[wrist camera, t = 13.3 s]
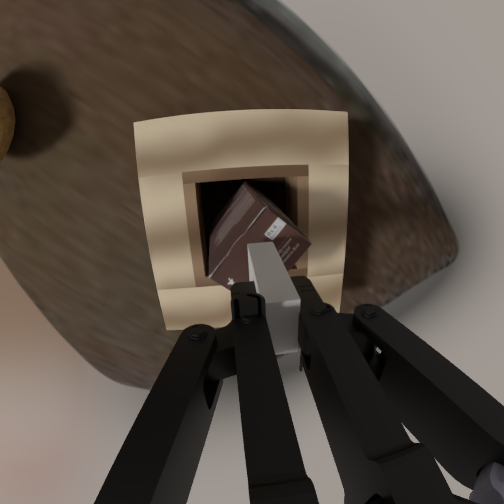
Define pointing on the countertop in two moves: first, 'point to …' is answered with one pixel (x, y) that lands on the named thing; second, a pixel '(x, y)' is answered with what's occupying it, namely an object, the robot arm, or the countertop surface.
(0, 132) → the potato
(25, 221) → the countertop surface
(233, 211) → the box
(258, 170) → the square frame
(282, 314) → the robot arm
